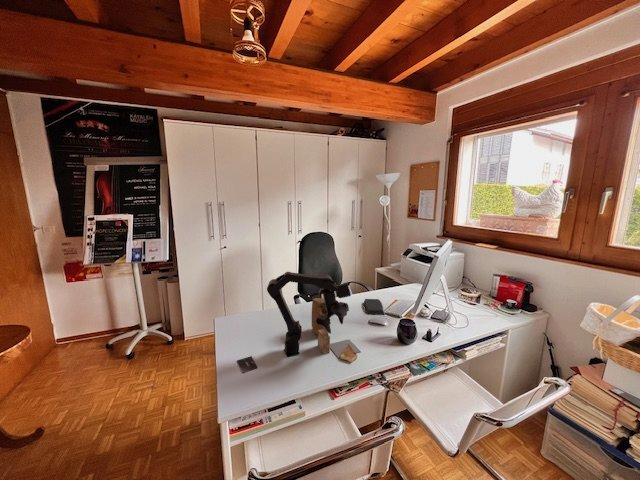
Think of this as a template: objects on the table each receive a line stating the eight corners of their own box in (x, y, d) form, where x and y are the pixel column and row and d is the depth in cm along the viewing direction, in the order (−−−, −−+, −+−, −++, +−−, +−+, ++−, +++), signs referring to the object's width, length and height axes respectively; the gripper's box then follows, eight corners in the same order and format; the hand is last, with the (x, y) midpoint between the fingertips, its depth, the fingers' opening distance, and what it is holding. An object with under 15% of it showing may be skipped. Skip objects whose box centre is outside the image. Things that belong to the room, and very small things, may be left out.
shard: (347, 346, 137) (348, 343, 136) (361, 351, 133) (362, 347, 133) (339, 358, 127) (339, 355, 127) (354, 363, 124) (354, 360, 124)
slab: (324, 354, 131) (324, 338, 129) (317, 345, 138) (317, 330, 136) (329, 353, 132) (329, 336, 130) (322, 344, 139) (323, 329, 138)
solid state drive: (251, 357, 129) (251, 355, 128) (257, 369, 120) (257, 367, 120) (236, 361, 125) (236, 360, 125) (242, 374, 117) (242, 372, 116)
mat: (338, 358, 128) (338, 357, 128) (327, 345, 139) (327, 344, 139) (360, 352, 133) (360, 351, 133) (348, 339, 144) (348, 339, 144)
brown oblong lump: (310, 330, 153) (310, 298, 150) (321, 327, 157) (322, 295, 153) (319, 339, 144) (319, 305, 140) (331, 335, 148) (331, 302, 144)
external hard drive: (380, 303, 192) (380, 298, 191) (386, 315, 173) (386, 310, 172) (362, 302, 193) (362, 297, 192) (366, 315, 174) (366, 309, 173)
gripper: (329, 312, 116) (336, 343, 119) (354, 294, 129) (359, 323, 132) (312, 307, 124) (319, 336, 127) (337, 291, 137) (342, 318, 140)
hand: (336, 328), depth 131 cm, fingers open, 9 cm apart
